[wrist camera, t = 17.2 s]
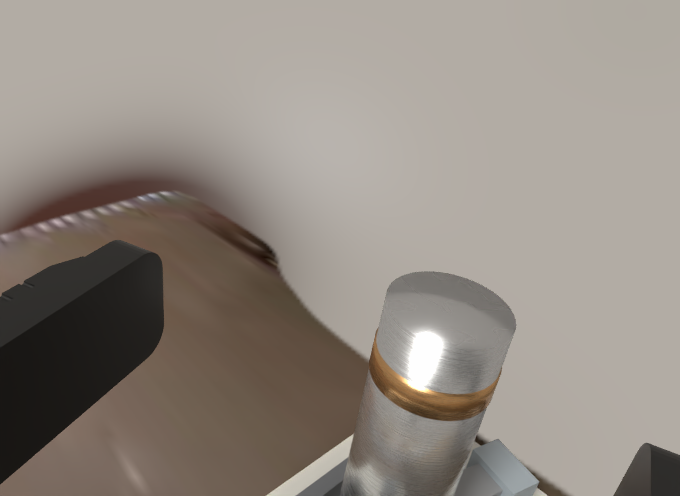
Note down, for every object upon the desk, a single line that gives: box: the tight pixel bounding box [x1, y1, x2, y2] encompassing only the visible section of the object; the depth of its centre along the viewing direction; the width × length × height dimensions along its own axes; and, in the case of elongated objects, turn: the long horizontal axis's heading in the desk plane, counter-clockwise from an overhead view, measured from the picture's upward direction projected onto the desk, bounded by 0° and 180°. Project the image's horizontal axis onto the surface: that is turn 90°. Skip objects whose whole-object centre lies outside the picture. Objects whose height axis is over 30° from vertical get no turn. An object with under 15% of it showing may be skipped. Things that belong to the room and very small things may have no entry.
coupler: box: [340, 272, 516, 496], centre depth 25 cm, size 5×5×14 cm
